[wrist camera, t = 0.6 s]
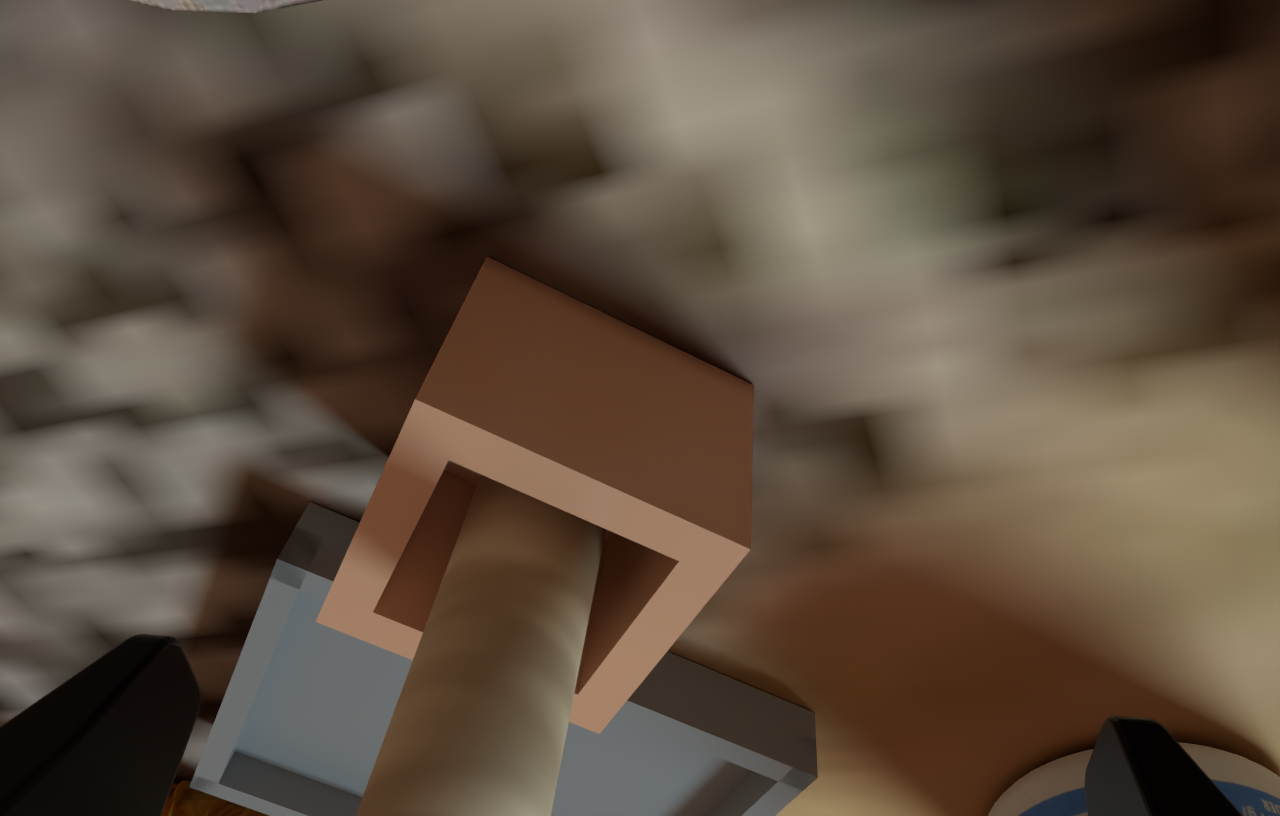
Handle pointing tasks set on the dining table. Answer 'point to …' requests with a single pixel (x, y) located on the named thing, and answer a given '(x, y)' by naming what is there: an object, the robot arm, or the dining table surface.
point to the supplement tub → (1055, 792)
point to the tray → (372, 683)
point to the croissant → (201, 804)
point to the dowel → (493, 666)
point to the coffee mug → (223, 5)
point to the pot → (561, 476)
